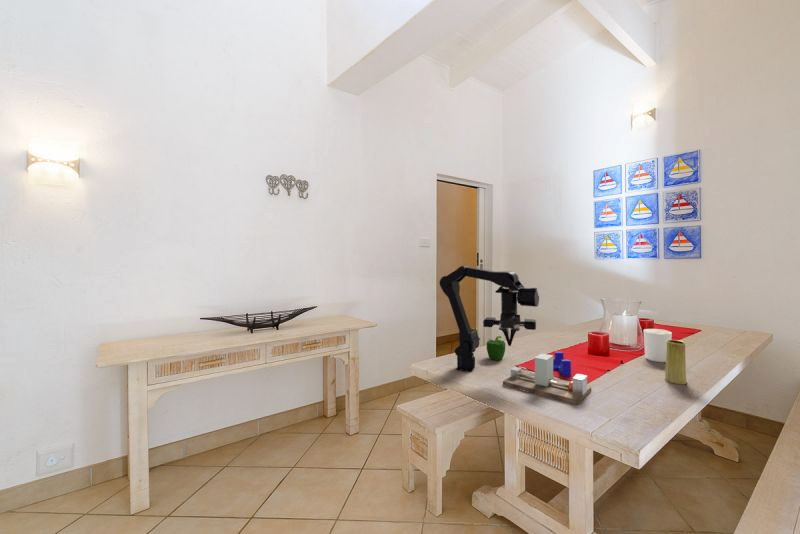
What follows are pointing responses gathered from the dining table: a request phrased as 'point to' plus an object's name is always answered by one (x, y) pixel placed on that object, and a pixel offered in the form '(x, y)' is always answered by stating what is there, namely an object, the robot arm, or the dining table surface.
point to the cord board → (546, 389)
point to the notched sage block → (543, 369)
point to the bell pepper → (496, 348)
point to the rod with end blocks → (575, 385)
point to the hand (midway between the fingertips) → (509, 345)
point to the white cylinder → (656, 344)
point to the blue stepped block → (562, 364)
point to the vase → (675, 362)
